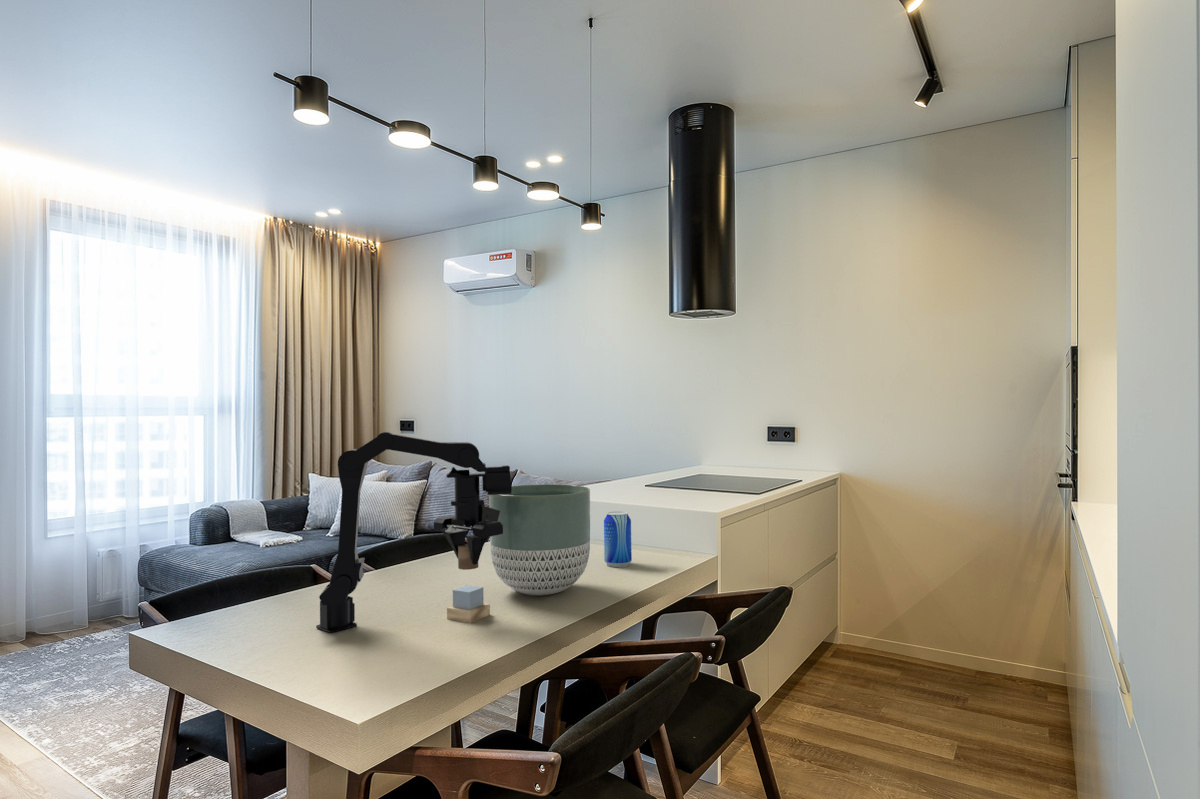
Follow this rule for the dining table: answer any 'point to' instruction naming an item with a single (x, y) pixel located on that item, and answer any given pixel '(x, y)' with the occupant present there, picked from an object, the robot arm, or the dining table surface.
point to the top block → (468, 597)
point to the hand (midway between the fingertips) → (468, 563)
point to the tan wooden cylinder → (465, 558)
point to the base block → (468, 613)
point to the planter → (541, 537)
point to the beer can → (617, 539)
